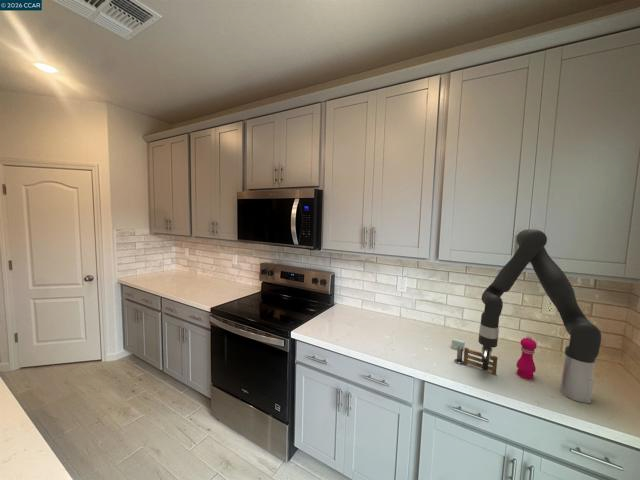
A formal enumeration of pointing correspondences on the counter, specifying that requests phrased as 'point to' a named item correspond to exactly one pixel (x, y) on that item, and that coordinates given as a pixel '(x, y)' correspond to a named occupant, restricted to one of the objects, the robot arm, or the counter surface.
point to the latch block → (457, 343)
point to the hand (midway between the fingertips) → (485, 369)
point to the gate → (479, 360)
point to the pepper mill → (527, 358)
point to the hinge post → (459, 356)
